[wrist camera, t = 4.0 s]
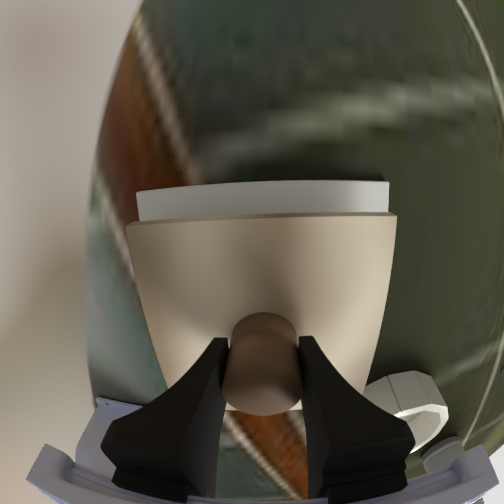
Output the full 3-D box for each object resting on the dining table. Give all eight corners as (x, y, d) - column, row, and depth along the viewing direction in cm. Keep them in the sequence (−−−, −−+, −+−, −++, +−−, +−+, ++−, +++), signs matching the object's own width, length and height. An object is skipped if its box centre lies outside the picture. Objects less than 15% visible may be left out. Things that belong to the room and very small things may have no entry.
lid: (177, 397, 17) (161, 448, 12) (132, 221, 12) (80, 254, 8) (357, 394, 16) (371, 446, 12) (389, 212, 12) (440, 243, 7)
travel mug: (465, 433, 24) (501, 530, 6) (434, 458, 27) (460, 551, 8) (448, 432, 24) (486, 543, 5) (413, 458, 26) (439, 564, 7)
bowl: (328, 441, 23) (332, 472, 19) (345, 381, 19) (354, 419, 16) (413, 425, 22) (423, 452, 18) (446, 362, 19) (465, 392, 15)
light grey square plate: (178, 374, 20) (177, 378, 19) (139, 191, 15) (135, 192, 15) (359, 371, 19) (360, 375, 18) (385, 181, 14) (389, 182, 14)
